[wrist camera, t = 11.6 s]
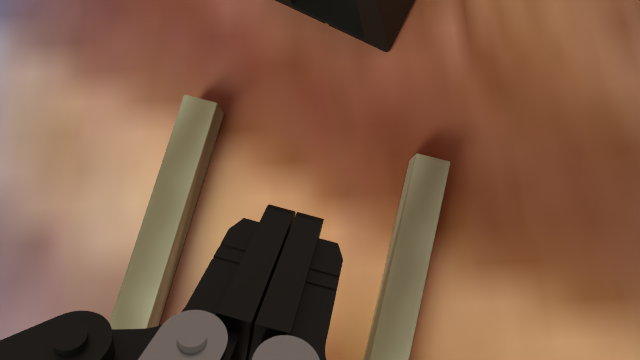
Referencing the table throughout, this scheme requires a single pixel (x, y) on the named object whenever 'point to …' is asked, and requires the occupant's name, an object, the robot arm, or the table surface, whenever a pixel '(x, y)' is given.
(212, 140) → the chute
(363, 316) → the table surface
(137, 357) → the robot arm
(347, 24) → the phone stand
